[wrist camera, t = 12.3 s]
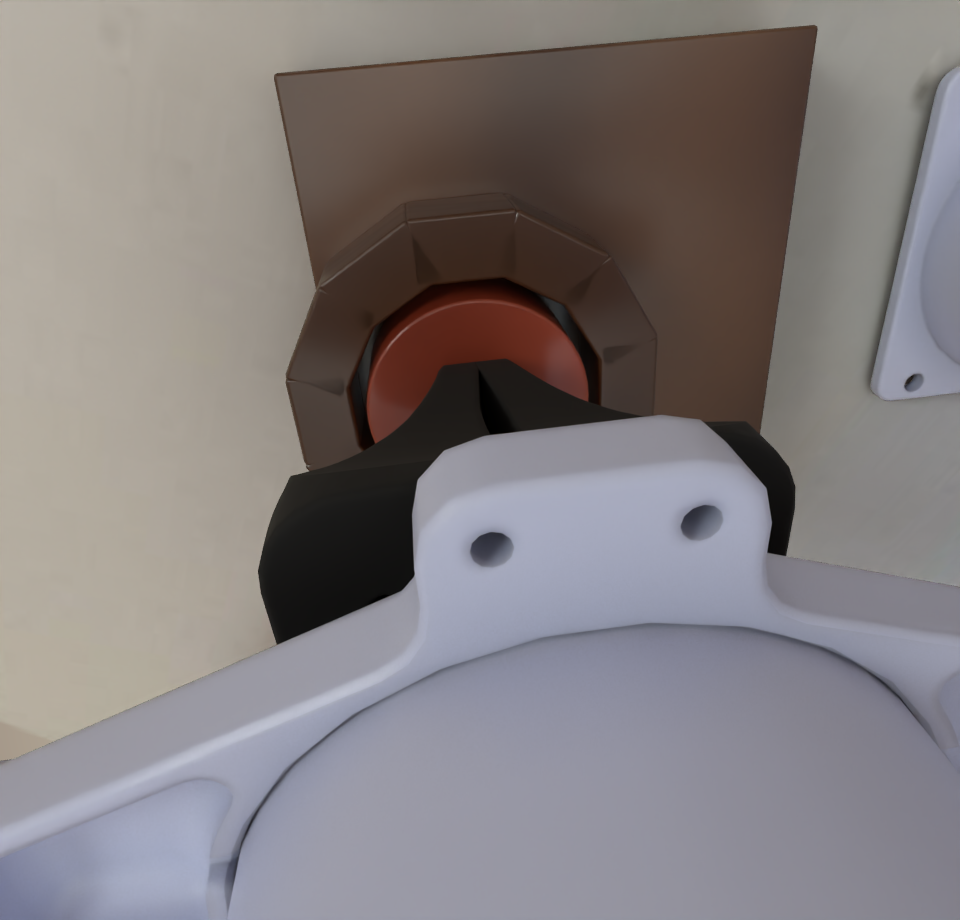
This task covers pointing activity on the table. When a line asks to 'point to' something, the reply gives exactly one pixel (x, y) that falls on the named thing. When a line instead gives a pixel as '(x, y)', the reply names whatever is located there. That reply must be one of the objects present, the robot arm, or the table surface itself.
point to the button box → (555, 211)
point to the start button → (465, 345)
